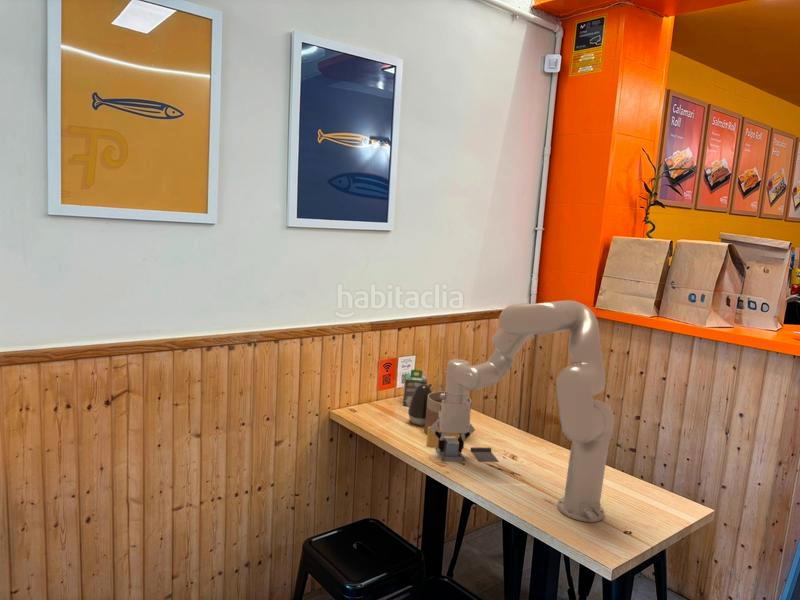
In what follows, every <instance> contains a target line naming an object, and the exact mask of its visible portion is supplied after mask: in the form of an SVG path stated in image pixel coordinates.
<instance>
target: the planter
mask: <svg viewBox="0 0 800 600" xmlns="http://www.w3.org/2000/svg"><path fill="white" fill-rule="evenodd" d="M444 391H445V390H444ZM444 391H443V390H440V391H432V393H430V394H428V398H427V408H426V418H425V425H424V432H425V434H426V435H427V433H428V427H431V426H432V425H433V424H434V423H435V422H436V421H437V419H438V413H439V409H440V405H441V402H442V400H444V398H440V394H443V393H444ZM467 402H469V404H470V412H471V410H472V409H471V408H472V399H471V398H470V397H468V398H467Z"/></svg>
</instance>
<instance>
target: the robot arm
mask: <svg viewBox="0 0 800 600" xmlns="http://www.w3.org/2000/svg"><path fill="white" fill-rule="evenodd" d="M498 324H499V328H498V329H497V331H496V332H495V334H494V335H493V336H492V338H491V343H492V345H493V346H494V348H495V349H494V352H493V353H492V354H491V356H490V357H489V358H488V359H487V360H486V361H485V362H484V363H479V364H476V365H475V364H474V365H471V363H470V362H469V361H468V360H465V359H462V358H460V359H459V358H454V359H449V361H448V363H447V366H446V367H447V368H446V374H445V375H446V376H445V387H444V393H443V394H440V398H444V400H442V402H441V405H440V409H439V413H438V419H437V421H436V422H435V423H434V424H433V425H432V426H431V427H430V429H431V431H432V432H433V433H434V434H435V435H436V436H437V437H438V438H439V442H438V448H439V449H440V451H441V452H444V443H445V441H444V437H445V434H446V433H452V434H459V435H460V437H459V438H458V441H459V450H458V451H459V452H460V453H463V450H464V446H465V445H464V444H465V441H467V440H466V439H467V438H469V436H471V434H473V433H474V432H475V431H476V429H475V428H474V426H473V425H472V424H471V411H470V404H469V402H467V398H468V396H469V390H470V391H478V390H481V389H482V390H483V389H485V388H488V387H489V388H490V387H492V386H494V385H497V383H499V382H500V381H501V379H502V378H503V377H504V376H505V375H506V373H508V372H509V370H510V369H511V367H512V366H513V364H514V361H515V358H516V354H517V353H518V352H519V351H520V350H521V349H522V347H523V346H524V345H525V344H526V343H527V341H528V340H529V339H530V338H531V337H532V335H550V334H556V333H560V332H561V333H562V332H565V331H567V332H568V333H569V340H568V352H569V365H567V366H566V367H564V368H563V369H562V370H561V371H560V372H559V373H558V375H557V379H556V385H555V388H556V389H555V390H556V397H557V405H558V415H559V422H560V427H561V430H562V432H563V434H564V435H565V437H566V438H567V439H568V440H569V441H571V445H570V451H569V459H568V466H567V473H566V481H565V489H564V496H563V497H561V498H559V499H558V501H557V504H556V505H557V509H558V511H559V512H561V513H562V514H563V515H565V516H566V517H568V518H570V519H574V520H577V521H580V522H585V523H586V522H587V523H596V522H599V521H602V520H604V518H605V514H606V513H605V510H604V507H602V506H601V498H602V492H603V484H604V477H605V471H606V463H607V457H608V451H609V446H610V442H611V439H612V435H613V431H614V427H615V426H614V425H615V415H614V412H613V410H612V408H611V406H610V405H609V404H607V403H606V402H604V401H602V400H599V399H593V397H595V396H597V395H598V394H600V393H601V392H603V390H604V389H605V386H606V373H605V367H604V356H603V351H602V344H601V336H600V326H599V322H598V319H597V317H596V314H595V313H594V312H593V311H592V310H591V309H590V308H589V307H588V306H587V305H585V304H583V303H581V302H578V301H576V300H556V301H550V302H549V301H548V302H538V303H517V304H511V305H508V306H506V307H505V308H503V309H502V310H501V313H500V314H499V318H498ZM437 427H438V428H439V430H440V432H438V431H437V430H436V428H437Z"/></svg>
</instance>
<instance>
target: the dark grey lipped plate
mask: <svg viewBox="0 0 800 600" xmlns="http://www.w3.org/2000/svg"><path fill="white" fill-rule="evenodd" d="M470 452H471V454H472V455H473V456H474V457H475V459H476V460H477V462H478V463H484V462H485V463H486V462H487V463H490V462H491V463H498V462H499V460H498V458H497V457H496V456H495V454H494V453H492V448H491V447H478V446H477V447H475V446H473V447H472V446H471V447H470Z"/></svg>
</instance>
